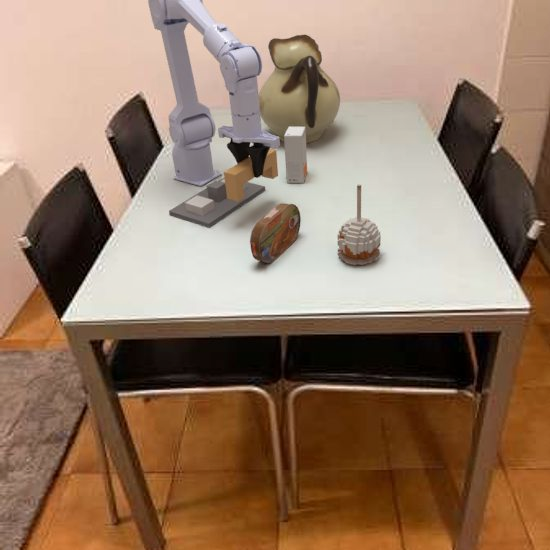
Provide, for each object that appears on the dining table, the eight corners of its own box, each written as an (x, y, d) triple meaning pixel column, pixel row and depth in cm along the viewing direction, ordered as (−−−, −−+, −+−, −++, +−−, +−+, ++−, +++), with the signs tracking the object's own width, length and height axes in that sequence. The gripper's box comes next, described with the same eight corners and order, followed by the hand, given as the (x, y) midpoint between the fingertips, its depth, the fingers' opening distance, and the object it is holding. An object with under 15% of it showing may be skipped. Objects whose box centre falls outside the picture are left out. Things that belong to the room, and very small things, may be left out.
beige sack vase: (290, 116, 180) (284, 29, 166) (359, 129, 168) (359, 36, 154) (244, 143, 166) (234, 50, 152) (316, 159, 154) (312, 60, 139)
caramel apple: (348, 242, 119) (348, 172, 110) (385, 250, 115) (388, 179, 107) (331, 261, 114) (329, 190, 105) (369, 271, 110) (371, 198, 102)
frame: (227, 198, 124) (223, 172, 121) (267, 172, 133) (265, 147, 130) (238, 201, 123) (235, 175, 119) (278, 175, 132) (276, 150, 128)
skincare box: (304, 183, 142) (301, 135, 135) (286, 183, 143) (283, 135, 136) (308, 172, 147) (305, 126, 140) (290, 172, 148) (288, 126, 141)
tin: (263, 271, 113) (259, 232, 108) (249, 267, 114) (245, 229, 109) (303, 234, 123) (300, 197, 118) (289, 231, 124) (287, 194, 120)
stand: (169, 214, 134) (166, 196, 131) (226, 180, 147) (224, 163, 144) (209, 227, 128) (206, 209, 125) (265, 190, 141) (263, 172, 138)
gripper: (205, 112, 120) (214, 174, 127) (262, 123, 112) (268, 188, 120) (227, 101, 124) (234, 162, 132) (284, 111, 117) (288, 175, 124)
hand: (252, 174), depth 126 cm, fingers closed on frame, 3 cm apart
